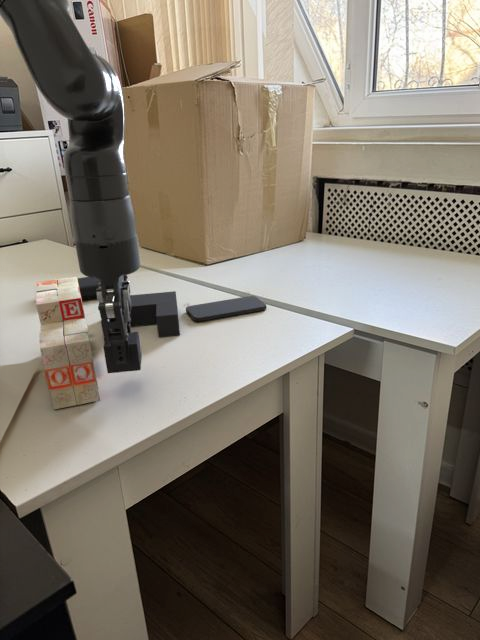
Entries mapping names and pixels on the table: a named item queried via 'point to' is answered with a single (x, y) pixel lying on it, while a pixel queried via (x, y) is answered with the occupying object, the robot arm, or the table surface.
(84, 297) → the carrying case
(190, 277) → the table surface
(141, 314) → the notched block
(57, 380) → the stack of blocks
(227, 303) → the phone
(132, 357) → the square block
